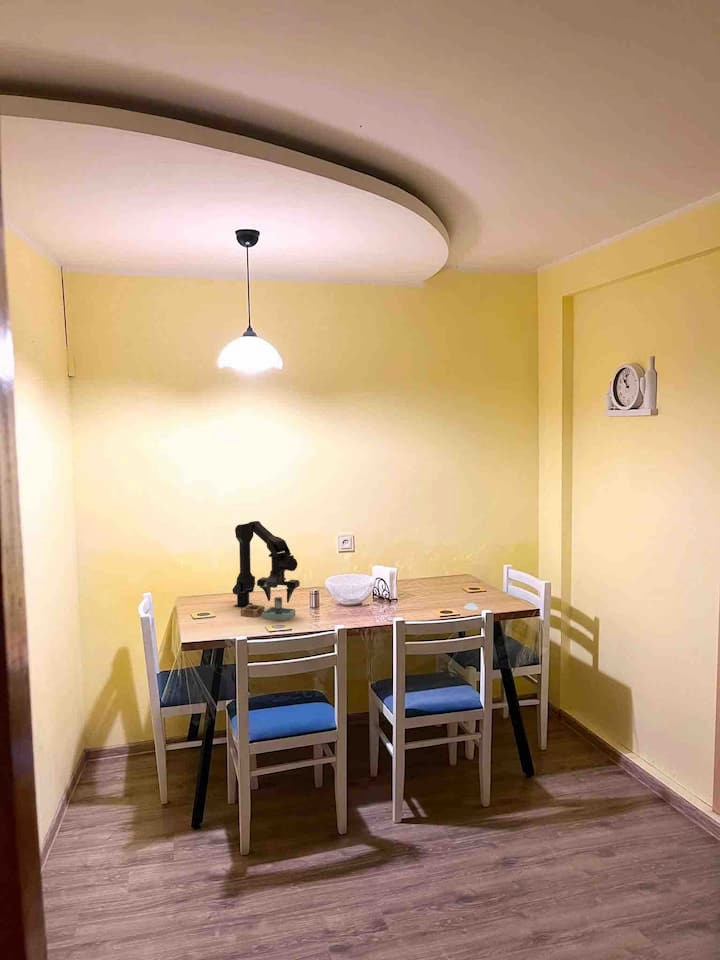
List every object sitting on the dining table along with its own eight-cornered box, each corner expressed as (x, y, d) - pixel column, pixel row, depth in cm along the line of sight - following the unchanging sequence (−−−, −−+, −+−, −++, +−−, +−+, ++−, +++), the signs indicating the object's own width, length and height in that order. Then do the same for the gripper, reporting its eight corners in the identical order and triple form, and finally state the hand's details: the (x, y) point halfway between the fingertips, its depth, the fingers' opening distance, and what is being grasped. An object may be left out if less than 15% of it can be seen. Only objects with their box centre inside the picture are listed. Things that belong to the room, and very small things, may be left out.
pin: (276, 613, 299) (276, 596, 299) (283, 614, 298) (283, 597, 298) (273, 616, 296) (273, 598, 295) (280, 616, 295) (280, 599, 294)
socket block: (248, 610, 306) (248, 604, 306) (264, 612, 304) (264, 606, 304) (240, 615, 299) (240, 609, 298) (256, 617, 296) (256, 610, 296)
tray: (271, 612, 304) (271, 606, 304) (295, 614, 300) (295, 609, 300) (261, 618, 294) (261, 612, 294) (286, 620, 291) (286, 615, 290)
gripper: (250, 570, 290) (251, 604, 292) (289, 572, 285) (290, 608, 286) (262, 564, 301) (262, 598, 302) (299, 567, 295) (300, 601, 297)
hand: (278, 601), depth 297 cm, fingers open, 9 cm apart
